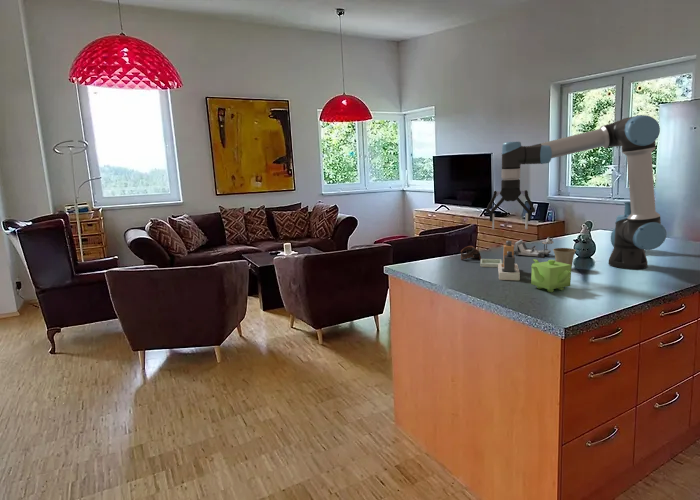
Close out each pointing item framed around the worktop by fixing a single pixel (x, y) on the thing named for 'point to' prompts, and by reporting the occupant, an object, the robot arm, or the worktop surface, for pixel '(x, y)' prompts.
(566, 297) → the worktop surface
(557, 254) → the flower pot
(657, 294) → the worktop surface
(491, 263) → the tray
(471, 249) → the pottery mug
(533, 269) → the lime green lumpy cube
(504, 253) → the plug
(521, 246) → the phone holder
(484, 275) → the worktop surface
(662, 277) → the worktop surface
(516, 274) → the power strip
